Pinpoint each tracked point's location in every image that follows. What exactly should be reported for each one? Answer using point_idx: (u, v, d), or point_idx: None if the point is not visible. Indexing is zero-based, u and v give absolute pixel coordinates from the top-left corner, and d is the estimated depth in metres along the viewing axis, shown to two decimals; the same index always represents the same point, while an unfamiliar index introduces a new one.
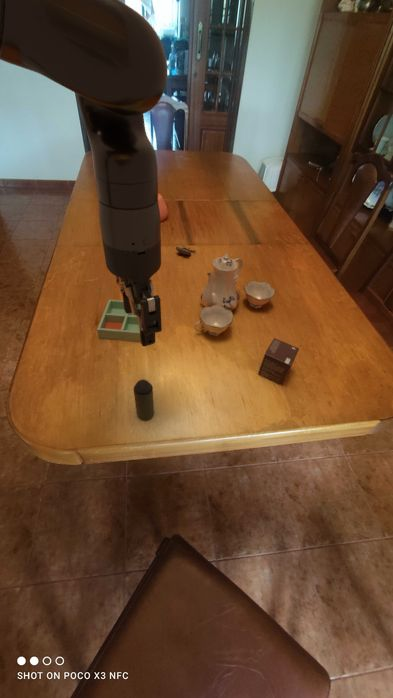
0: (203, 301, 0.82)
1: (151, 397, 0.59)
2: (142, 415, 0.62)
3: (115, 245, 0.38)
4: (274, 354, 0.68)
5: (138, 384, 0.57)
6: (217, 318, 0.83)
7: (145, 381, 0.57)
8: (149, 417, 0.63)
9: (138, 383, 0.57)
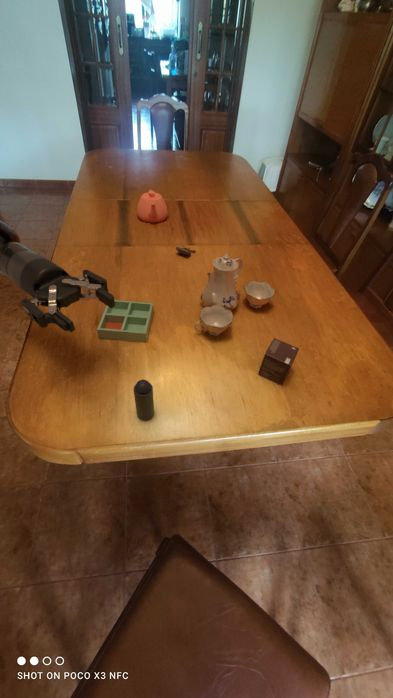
0: (203, 301, 0.82)
1: (151, 397, 0.59)
2: (142, 415, 0.62)
3: (45, 258, 0.60)
4: (274, 354, 0.68)
5: (138, 384, 0.57)
6: (217, 318, 0.83)
7: (145, 381, 0.57)
8: (149, 417, 0.63)
9: (138, 383, 0.57)
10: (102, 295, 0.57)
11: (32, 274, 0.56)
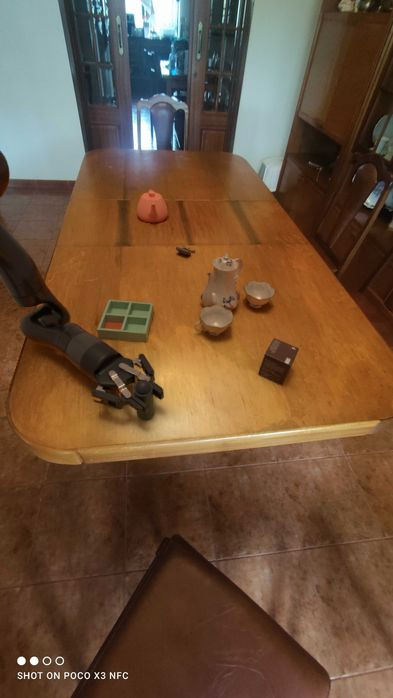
0: (203, 301, 0.82)
1: (151, 397, 0.59)
2: (142, 415, 0.62)
3: (100, 341, 0.65)
4: (274, 354, 0.68)
5: (138, 384, 0.57)
6: (217, 318, 0.83)
7: (145, 381, 0.57)
8: (149, 417, 0.63)
9: (138, 383, 0.57)
10: None
11: (92, 361, 0.61)
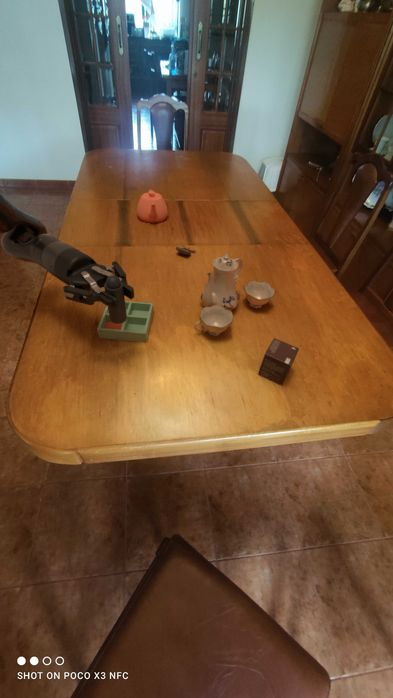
0: (203, 301, 0.82)
1: (121, 294, 0.61)
2: (114, 316, 0.64)
3: (75, 248, 0.67)
4: (274, 354, 0.68)
5: (108, 278, 0.59)
6: (217, 318, 0.83)
7: (115, 276, 0.59)
8: (121, 320, 0.65)
9: (108, 277, 0.59)
10: (123, 287, 0.62)
11: (65, 261, 0.63)
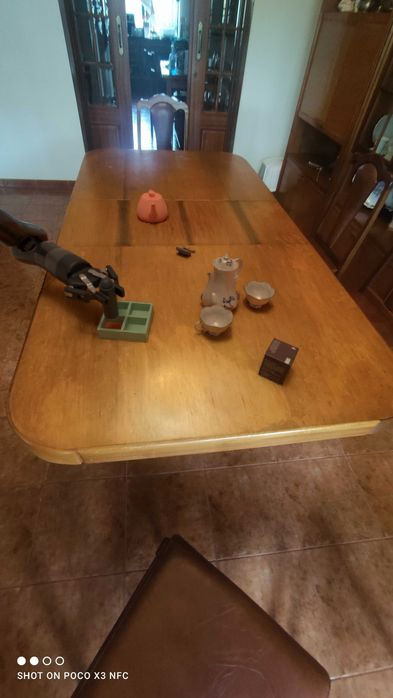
0: (203, 301, 0.82)
1: (114, 293, 0.71)
2: (108, 313, 0.74)
3: (74, 254, 0.77)
4: (274, 354, 0.68)
5: (102, 280, 0.69)
6: (217, 318, 0.83)
7: (108, 278, 0.69)
8: (113, 316, 0.75)
9: (102, 279, 0.69)
10: (115, 287, 0.72)
11: (65, 265, 0.73)
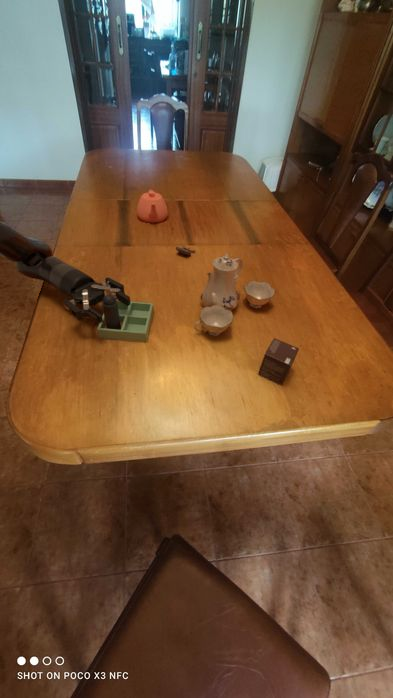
0: (203, 301, 0.82)
1: (116, 309, 0.74)
2: (110, 327, 0.77)
3: (77, 269, 0.80)
4: (274, 354, 0.68)
5: (105, 297, 0.72)
6: (217, 318, 0.83)
7: (110, 295, 0.73)
8: None
9: (105, 296, 0.73)
10: (121, 296, 0.77)
11: (69, 281, 0.76)
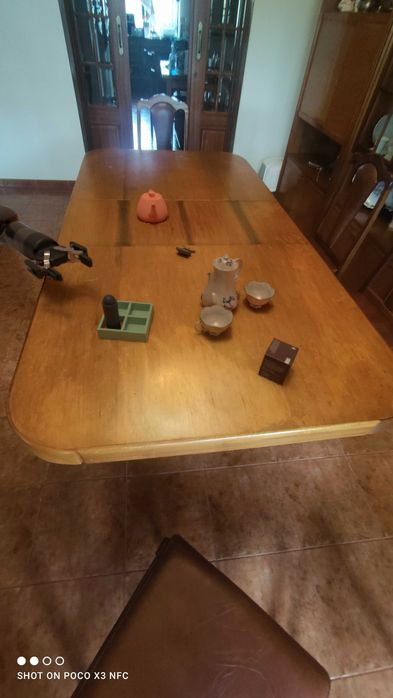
0: (203, 301, 0.82)
1: (116, 309, 0.74)
2: (110, 327, 0.77)
3: (41, 232, 0.81)
4: (273, 354, 0.68)
5: (105, 297, 0.72)
6: (217, 318, 0.83)
7: (110, 295, 0.73)
8: None
9: (105, 296, 0.73)
10: (83, 258, 0.78)
11: (32, 242, 0.77)
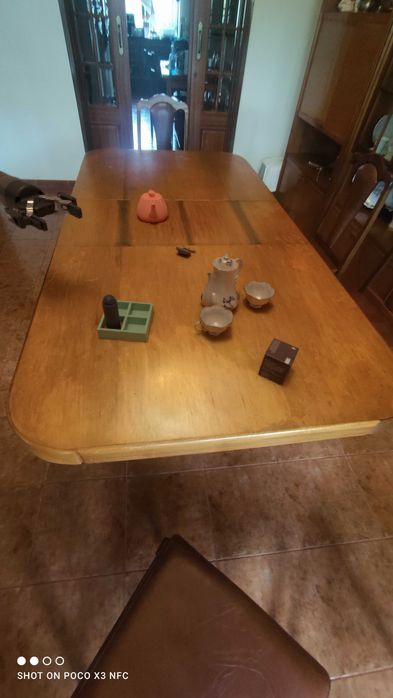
0: (203, 301, 0.82)
1: (116, 309, 0.74)
2: (110, 327, 0.77)
3: None
4: (274, 354, 0.68)
5: (105, 297, 0.72)
6: (217, 318, 0.83)
7: (110, 295, 0.73)
8: None
9: (105, 296, 0.73)
10: (71, 207, 0.69)
11: (13, 189, 0.68)
